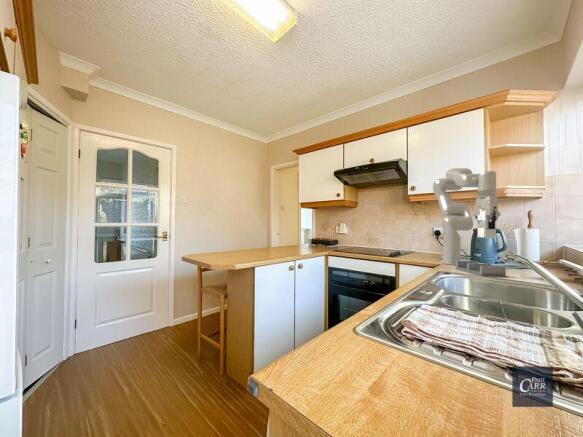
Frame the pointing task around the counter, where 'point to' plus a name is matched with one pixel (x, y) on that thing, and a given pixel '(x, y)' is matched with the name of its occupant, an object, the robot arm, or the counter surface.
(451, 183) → the robot arm
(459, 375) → the counter surface
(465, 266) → the slot rack
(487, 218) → the syrup box
